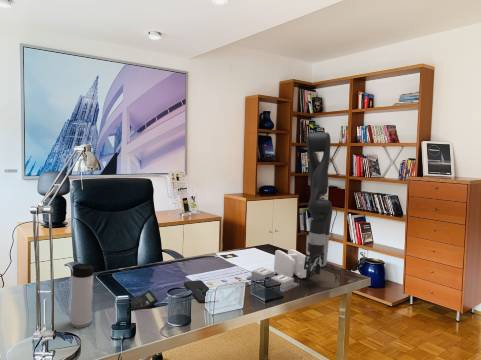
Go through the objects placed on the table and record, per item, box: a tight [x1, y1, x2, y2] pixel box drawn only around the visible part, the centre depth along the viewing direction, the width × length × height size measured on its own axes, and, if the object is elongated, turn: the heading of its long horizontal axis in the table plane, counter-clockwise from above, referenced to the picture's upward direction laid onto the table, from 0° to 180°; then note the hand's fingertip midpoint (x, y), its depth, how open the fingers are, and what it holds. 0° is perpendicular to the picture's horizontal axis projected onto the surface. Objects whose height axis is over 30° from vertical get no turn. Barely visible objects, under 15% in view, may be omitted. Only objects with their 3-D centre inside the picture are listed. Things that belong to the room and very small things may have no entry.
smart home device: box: [183, 279, 210, 304], centre depth 155 cm, size 8×2×20 cm
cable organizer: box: [273, 248, 307, 279], centre depth 182 cm, size 15×11×12 cm
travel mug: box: [70, 263, 94, 329], centre depth 121 cm, size 6×7×20 cm
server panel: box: [246, 267, 300, 294], centre depth 172 cm, size 13×20×4 cm, turn 50°
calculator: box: [129, 289, 159, 312], centre depth 140 cm, size 9×12×3 cm
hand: (312, 275), depth 174 cm, fingers open, 8 cm apart
